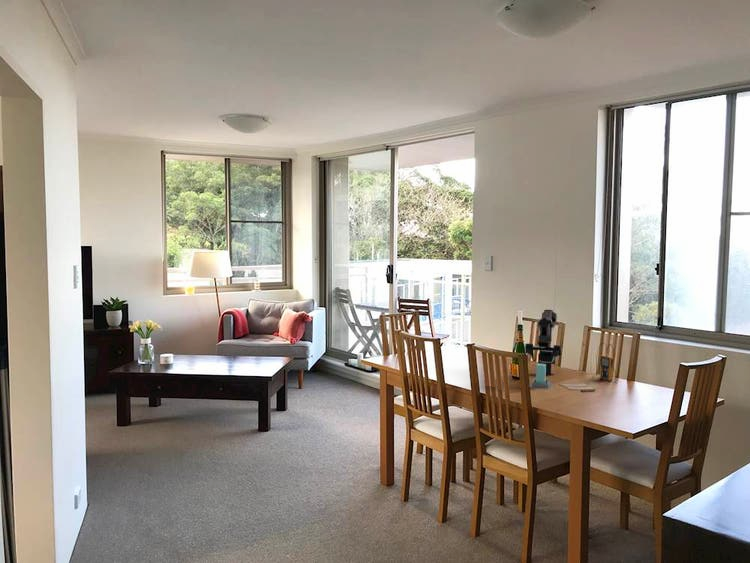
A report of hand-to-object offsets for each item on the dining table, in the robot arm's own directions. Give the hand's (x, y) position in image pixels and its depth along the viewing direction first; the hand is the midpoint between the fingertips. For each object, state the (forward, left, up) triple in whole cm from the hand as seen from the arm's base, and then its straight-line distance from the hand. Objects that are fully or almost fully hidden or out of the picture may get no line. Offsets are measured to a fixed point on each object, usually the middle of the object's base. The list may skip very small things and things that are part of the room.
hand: (542, 362), depth 312 cm
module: (+5, -3, -11) cm, 13 cm away
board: (+10, +15, -12) cm, 22 cm away
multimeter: (-6, +38, -12) cm, 40 cm away
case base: (+5, -3, -12) cm, 14 cm away
